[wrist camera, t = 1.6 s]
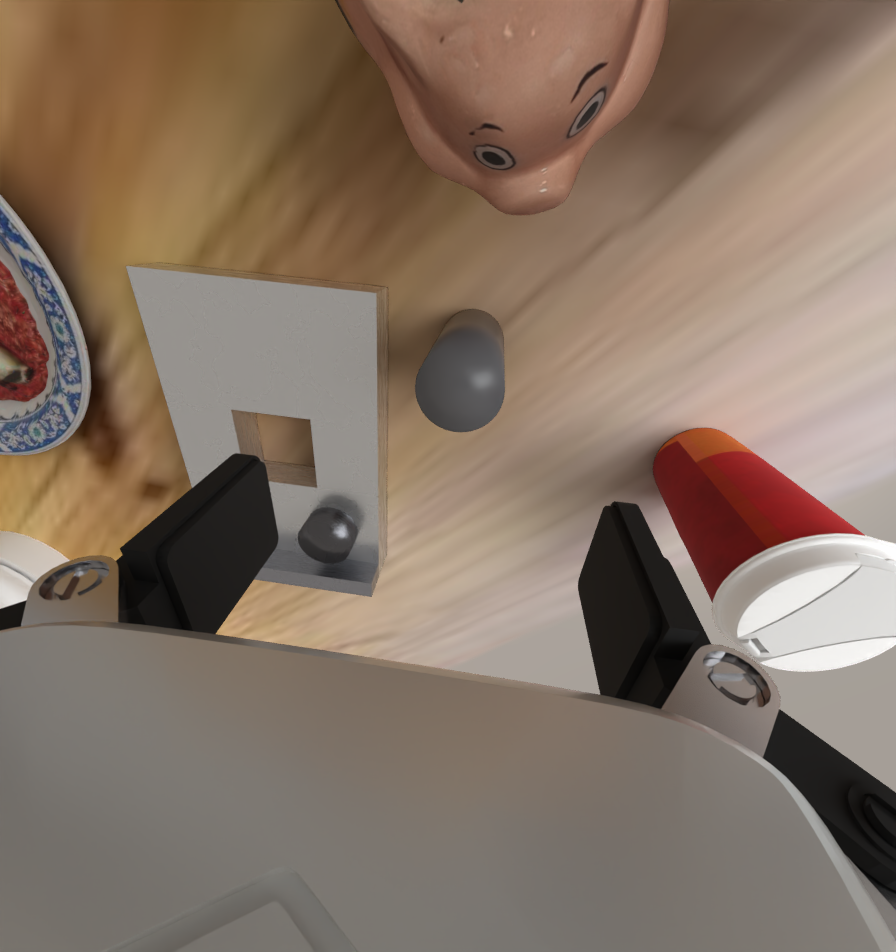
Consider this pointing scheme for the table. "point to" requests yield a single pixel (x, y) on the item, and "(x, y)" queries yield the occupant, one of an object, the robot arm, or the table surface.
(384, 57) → the decorative planter
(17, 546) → the honey pot
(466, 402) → the gray cylinder
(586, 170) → the table surface
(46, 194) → the table surface
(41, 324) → the ceramic plate
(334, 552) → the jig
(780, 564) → the coffee cup
